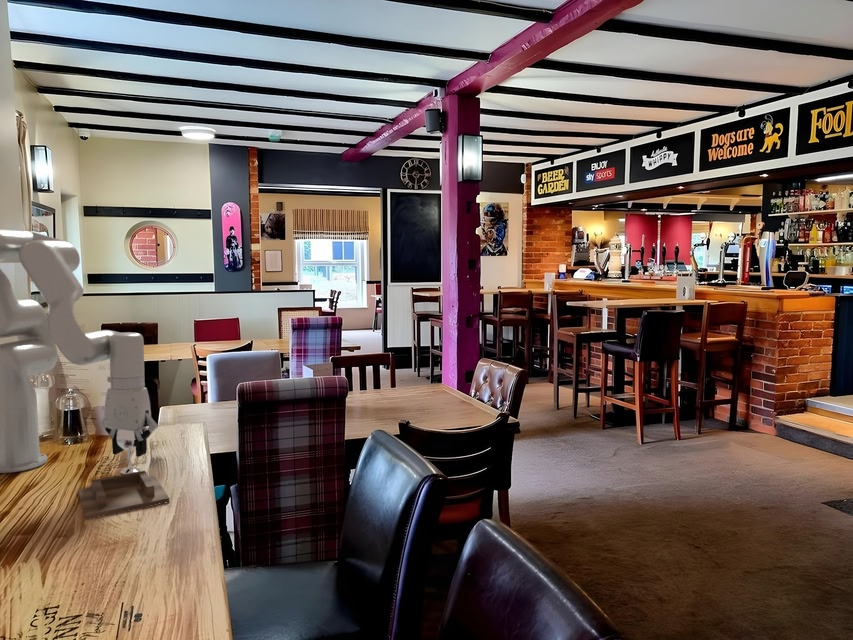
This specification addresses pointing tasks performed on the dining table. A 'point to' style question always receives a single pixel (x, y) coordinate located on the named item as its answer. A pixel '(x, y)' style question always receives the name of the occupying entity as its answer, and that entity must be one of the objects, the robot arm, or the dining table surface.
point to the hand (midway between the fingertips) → (129, 453)
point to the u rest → (121, 494)
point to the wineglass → (127, 447)
